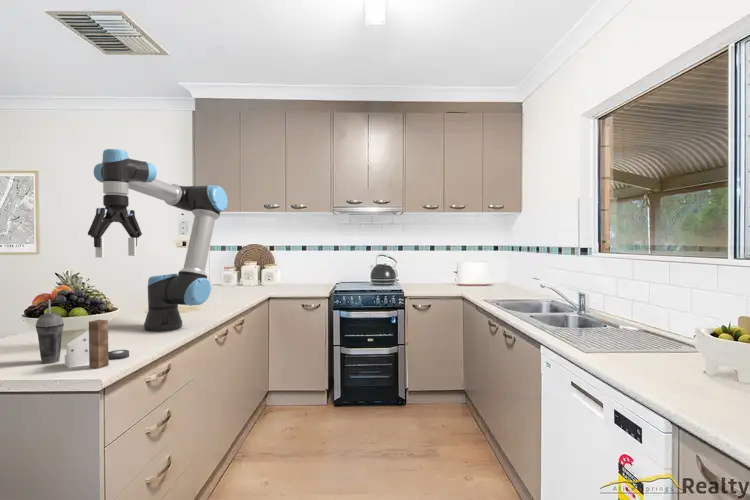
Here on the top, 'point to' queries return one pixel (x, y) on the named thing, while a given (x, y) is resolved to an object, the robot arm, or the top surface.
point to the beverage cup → (49, 336)
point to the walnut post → (98, 344)
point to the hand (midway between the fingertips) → (116, 256)
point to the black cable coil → (118, 354)
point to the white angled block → (78, 351)
